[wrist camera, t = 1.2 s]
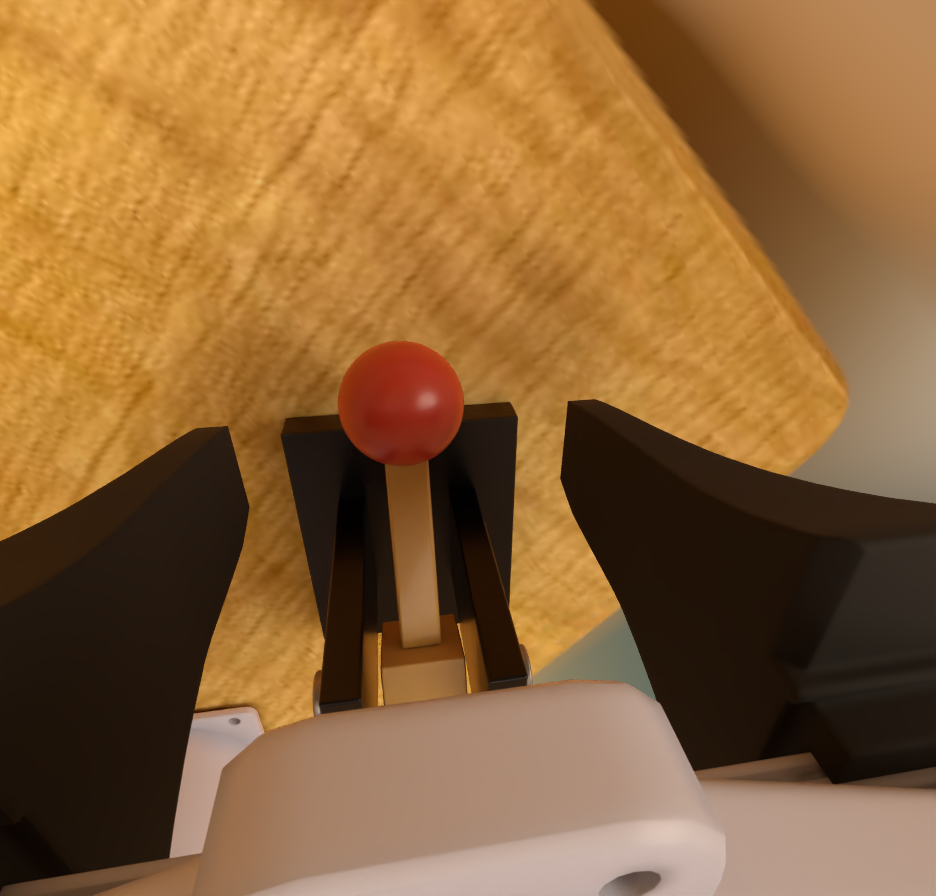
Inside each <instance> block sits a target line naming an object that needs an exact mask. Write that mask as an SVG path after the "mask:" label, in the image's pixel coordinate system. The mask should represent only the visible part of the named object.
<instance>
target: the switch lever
mask: <svg viewBox="0 0 936 896" xmlns="http://www.w3.org/2000/svg"><path fill="white" fill-rule="evenodd" d="M463 411H464V398H463V391H462V387H461V384H460V381H459V379H458V377H457V375H456V373H455V371H454V370H453V368H452V367H451V366H450V364H449V363H448V362H447V361H446V360H445V359H444V358H443V357H442V356H441V355H439V354H438V353H437V352H435V351H434V350H432V349H430V348H428V347H426V346H424V345H421V344H418V343H414V342H408V341H392V342H386V343H383V344H379V345H377V346H374V347H372V348H370V349H369V350H367V351H365V352H364V353H363V354H361V355H360V356H359V357H358V358H357V359H356V360H355V361H354V362H353V363H352V364H351V366H350V367H349V368H348V370H347V372H346V373H345V375H344V377H343V380H342V383H341V385H340V390H339V395H338V412H339V418H340V421H341V424H342V427H343V429H344V431H345V433H346V435H347V436H348V438H349V440H350V441H351V442H352V443H353V444H354V446H355V447H356V448H357V449H358V450H360V451H361V452H362V453H363V454H365V455H366V456H368V457H369V458H371V459H373V460H375V461H377V462H380V463H383V464H385V471H386V482H387V494H388V505H389V516H390V527H391V538H392V550H393V561H394V572H395V583H396V594H397V606H398V617H399V621H392V622H384V623H383V624H382V643H381V679H382V689H383V699H384V706H385V705H392V704H399V703H406V702H413V701H421V700H428V699H435V698H442V697H449V696H457V695H464V694H467V680H466V665H465V656H464V651H463V647H462V643H461V639H460V634H459V630H458V626H457V621H456V617H455V615H454V614H450V615H441V616H440V615H439V602H438V588H437V574H436V561H435V547H434V533H433V520H432V506H431V492H430V479H429V465H428V460H430V459H432V458H434V457H435V456H437V455H438V454H439V453H441V452H442V451H443V450H444V449H445V448H446V447H447V446H448V445H449V444H450V443H451V441H452V440H453V439H454V437H455V435H456V434H457V432H458V429H459V427H460V425H461V421H462V418H463Z"/></svg>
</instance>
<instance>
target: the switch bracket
mask: <svg viewBox="0 0 936 896" xmlns="http://www.w3.org/2000/svg"><path fill="white" fill-rule="evenodd" d="M517 424H518V416H517V414H516V412H515V410H514V408H513V406H512V404H511V403H510V402H506V403H493V404H479V405H465V406H464V411H463V418H462V421H461V425H460V427H459V429H458V432H457V434H456V435H455V437H454V439H453V440H452V441H451V443H450V444H449V445H448V446H447V447H446V448H445V449H444V450H443V451H442V452H441V453H439V454H438V455H437V456H435V457H434V458H432V459H430V460H428V465H429V479H430V492H431V506H432V520H433V533H434V547H435V561H436V574H437V588H438V602H439V615H440V616H441V615H450V614H454V615H455V617H456V621H457V623H460V629H461V634H462V640H463V646H464V652H465V658H466V663H467V669H468V675H469V681H470V687H471V692H472V693H478V692H485V691H493V690H500V689H507V688H514V687H521V686H528V685H532V672H531V666H530V661H529V657H528V653H527V650H526V648H525V646H524V645H522V644H519V642H518V638H517V635H516V631H515V628H514V624H513V620H512V617H511V613H510V610H509V599H510V577H511V555H512V533H513V511H514V490H515V468H516V446H517ZM281 439H282V444H283V448H284V453H285V458H286V462H287V467H288V472H289V476H290V481H291V486H292V490H293V495H294V500H295V505H296V509H297V514H298V519H299V523H300V528H301V533H302V537H303V542H304V547H305V551H306V556H307V561H308V565H309V570H310V575H311V579H312V584H313V589H314V594H315V598H316V603H317V608H318V612H319V617H320V622H321V626H322V631H323V636H324V639H325V643H324V653H323V663H322V670H319V671H317V672H316V673H315V677H314V682H313V712H314V716H317V715H321V714H327V713H334V712H342V711H349V710H356V709H363V708H370V707H378V633H382V624H383V623H384V622H392V621H399V617H398V606H397V594H396V583H395V572H394V561H393V550H392V538H391V527H390V516H389V505H388V494H387V482H386V471H385V464H383V463H380V462H377V461H375V460H373V459H371V458H369V457H368V456H366V455H365V454H363V453H362V452H361V451H360V450H358V449H357V448H356V447H355V446H354V444H353V443H352V442H351V441H350V440H349V438H348V436H347V435H346V433H345V431H344V429H343V427H342V424H341V421H340V418H339V415H328V416H314V417H300V418H287V419H286V420H285V423H284V426H283V429H282V433H281Z"/></svg>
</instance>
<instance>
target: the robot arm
mask: <svg viewBox="0 0 936 896" xmlns="http://www.w3.org/2000/svg"><path fill="white" fill-rule="evenodd" d="M560 479H561V482H562V485H563V488H564V491H565V494H566V497H567V500H568V502H569V505H570V508H571V511H572V513H573V515H574V517H575V519H576V521H577V523H578V525H579V527H580V529H581V531H582V533H583V535H584V537H585V539H586V540H587V542H588V544H589V546H590V548H591V550H592V552H593V553H594V555H595V557H596V559H597V561H598V563H599V565H600V567H601V568H602V570H603V572H604V574H605V576H606V578H607V580H608V581H609V583H610V585H611V587H612V589H613V591H614V593H615V595H616V597H617V599H618V601H619V603H620V605H621V608H622V610H623V612H624V615H625V617H626V620H627V622H628V625H629V627H630V630H631V633H632V635H633V637H634V640H635V643H636V645H637V648H638V650H639V653H640V656H641V659H642V661H643V664H644V667H645V669H646V672H647V675H648V678H649V680H650V683H651V686H652V688H653V691H654V694H655V697H656V700H657V701H655V700H654V699H652V698H650V697H649V696H647V695H645V694H644V693H642V692H641V691H639V690H637V689H636V688H634V687H632V686H631V685H629V684H626V683H622V682H618V681H597V680H564V681H558V682H550V683H543V684H536V685H528V686H521V687H514V688H507V689H500V690H493V691H485V692H478V693H471V694H464V695H457V696H449V697H442V698H435V699H428V700H421V701H413V702H406V703H399V704H392V705H385V706H378V707H370V708H363V709H356V710H349V711H342V712H334V713H327V714H321V715H317V716H314V717H311V718H308V719H304V720H301V721H298V722H295V723H291V724H288V725H285V726H282V727H278V728H275V729H272V730H269V731H267V732H264V729H263V727H262V724H261V721H260V718H259V715H258V712H257V710H256V709H254V708H253V707H238V708H231V709H224V710H216V711H209V712H202V713H194V709H195V704H196V700H197V695H198V691H199V686H200V682H201V677H202V672H203V668H204V663H205V659H206V656H207V652H208V649H209V645H210V642H211V638H212V636H213V633H214V630H215V627H216V624H217V621H218V618H219V615H220V612H221V609H222V607H223V604H224V601H225V598H226V595H227V592H228V589H229V586H230V583H231V581H232V578H233V575H234V572H235V569H236V566H237V563H238V560H239V557H240V553H241V550H242V547H243V542H244V537H245V532H246V526H247V520H248V513H249V503H248V499H247V496H246V492H245V488H244V485H243V481H242V477H241V473H240V470H239V466H238V462H237V459H236V455H235V451H234V447H233V444H232V440H231V436H230V433H229V429H228V426H223V427H209V428H196V429H194V430H192V431H190V432H188V433H186V434H185V435H183V436H181V437H180V438H178V439H176V440H175V441H173V442H172V443H170V444H169V445H167V446H166V447H164V448H163V449H161V450H159V451H158V452H156V453H155V454H153V455H152V456H150V457H149V458H147V459H146V460H144V461H143V462H141V463H140V464H138V465H137V466H135V467H134V468H132V469H131V470H129V471H128V472H126V473H125V474H123V475H121V476H120V477H118V478H117V479H115V480H113V481H112V482H110V483H108V484H107V485H105V486H103V487H102V488H100V489H98V490H97V491H95V492H93V493H92V494H90V495H88V496H87V497H85V498H83V499H82V500H80V501H79V502H77V503H75V504H73V505H72V506H70V507H68V508H66V509H64V510H63V511H61V512H59V513H57V514H55V515H53V516H51V517H49V518H47V519H45V520H43V521H41V522H39V523H37V524H35V525H33V526H31V527H29V528H27V529H25V530H23V531H21V532H19V533H17V534H15V535H13V536H11V537H9V538H7V539H5V540H2V541H0V896H936V504H934V503H926V502H919V501H911V500H903V499H895V498H888V497H882V496H877V495H871V494H866V493H859V492H854V491H849V490H844V489H839V488H834V487H830V486H825V485H820V484H815V483H812V482H808V481H803V480H800V479H796V478H792V477H788V476H784V475H780V474H777V473H773V472H770V471H766V470H763V469H760V468H756V467H753V466H750V465H747V464H744V463H741V462H739V461H736V460H733V459H730V458H727V457H724V456H721V455H719V454H716V453H713V452H711V451H708V450H706V449H703V448H701V447H699V446H696V445H694V444H692V443H689V442H687V441H684V440H682V439H680V438H678V437H676V436H673V435H671V434H669V433H667V432H665V431H663V430H661V429H659V428H656V427H654V426H652V425H650V424H648V423H646V422H644V421H642V420H640V419H638V418H636V417H634V416H632V415H630V414H628V413H626V412H624V411H622V410H620V409H618V408H615V407H613V406H611V405H609V404H606V403H604V402H601V401H598V400H595V399H592V400H578V401H568V407H567V417H566V427H565V437H564V447H563V457H562V467H561V477H560Z"/></svg>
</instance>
